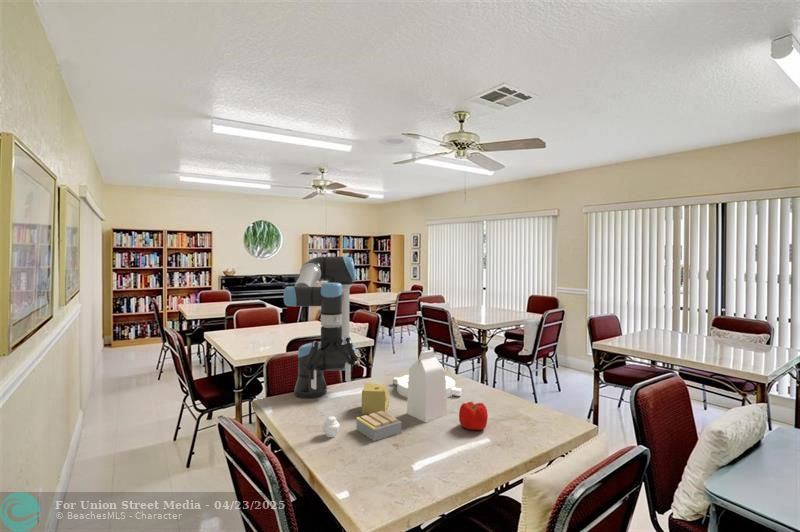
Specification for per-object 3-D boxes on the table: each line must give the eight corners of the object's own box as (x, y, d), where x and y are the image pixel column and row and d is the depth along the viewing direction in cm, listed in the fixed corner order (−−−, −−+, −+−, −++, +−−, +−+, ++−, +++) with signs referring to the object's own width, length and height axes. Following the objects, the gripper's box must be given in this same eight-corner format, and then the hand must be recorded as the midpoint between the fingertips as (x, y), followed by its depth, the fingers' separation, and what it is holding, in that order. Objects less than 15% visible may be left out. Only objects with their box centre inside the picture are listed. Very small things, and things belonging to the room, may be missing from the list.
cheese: (388, 406, 173) (389, 383, 173) (385, 415, 162) (385, 391, 162) (365, 405, 174) (365, 382, 174) (360, 414, 163) (360, 390, 163)
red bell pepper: (488, 422, 156) (488, 399, 156) (486, 435, 145) (486, 411, 144) (460, 419, 159) (461, 397, 159) (456, 432, 147) (457, 407, 147)
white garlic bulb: (321, 433, 146) (321, 414, 146) (337, 430, 148) (337, 412, 148) (323, 440, 140) (324, 420, 140) (341, 438, 142) (341, 418, 142)
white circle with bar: (464, 398, 184) (464, 388, 184) (406, 403, 177) (406, 393, 177) (442, 380, 211) (442, 371, 211) (391, 384, 204) (391, 375, 204)
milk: (425, 422, 156) (426, 356, 155) (406, 413, 165) (407, 350, 164) (447, 414, 164) (447, 351, 163) (427, 406, 173) (428, 346, 172)
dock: (356, 429, 149) (356, 416, 149) (383, 421, 156) (383, 409, 156) (373, 441, 139) (373, 427, 139) (401, 432, 147) (401, 419, 146)
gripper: (302, 330, 133) (302, 394, 133) (366, 323, 148) (366, 381, 148) (294, 327, 139) (294, 388, 139) (356, 321, 154) (356, 376, 154)
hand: (331, 384), depth 144 cm, fingers open, 13 cm apart
